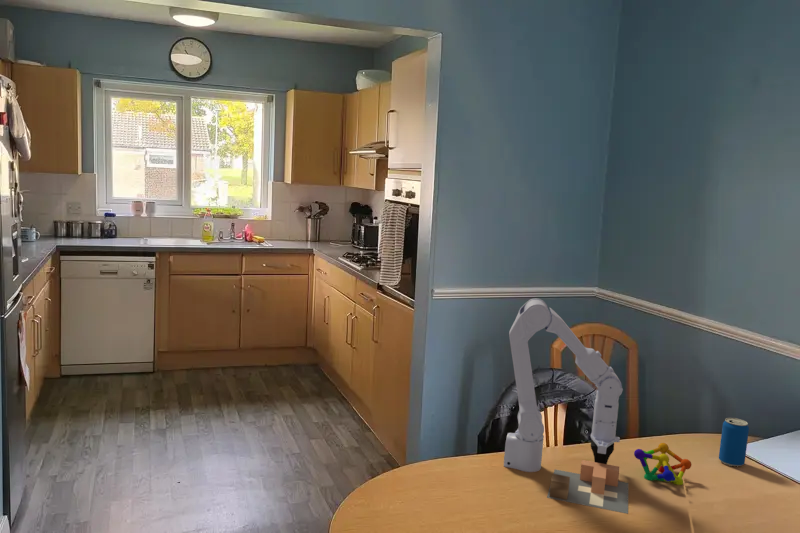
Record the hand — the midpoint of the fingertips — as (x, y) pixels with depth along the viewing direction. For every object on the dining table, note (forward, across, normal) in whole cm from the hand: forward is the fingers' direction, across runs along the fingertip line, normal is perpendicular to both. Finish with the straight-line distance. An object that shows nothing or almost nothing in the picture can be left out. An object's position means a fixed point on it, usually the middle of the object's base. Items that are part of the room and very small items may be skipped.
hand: (599, 470), depth 173 cm
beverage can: (+2, +26, -34) cm, 43 cm away
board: (+2, -11, +2) cm, 11 cm away
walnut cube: (+1, -17, +9) cm, 19 cm away
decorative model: (+2, +6, -15) cm, 16 cm away
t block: (+1, -7, 0) cm, 7 cm away
